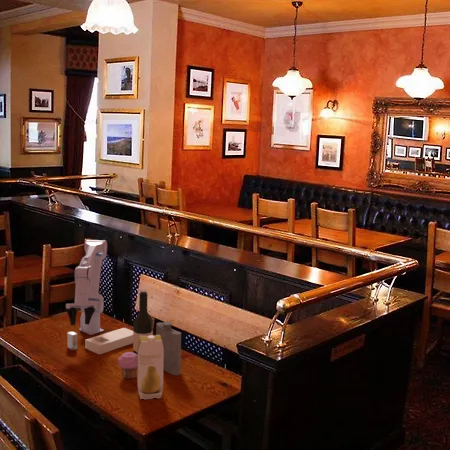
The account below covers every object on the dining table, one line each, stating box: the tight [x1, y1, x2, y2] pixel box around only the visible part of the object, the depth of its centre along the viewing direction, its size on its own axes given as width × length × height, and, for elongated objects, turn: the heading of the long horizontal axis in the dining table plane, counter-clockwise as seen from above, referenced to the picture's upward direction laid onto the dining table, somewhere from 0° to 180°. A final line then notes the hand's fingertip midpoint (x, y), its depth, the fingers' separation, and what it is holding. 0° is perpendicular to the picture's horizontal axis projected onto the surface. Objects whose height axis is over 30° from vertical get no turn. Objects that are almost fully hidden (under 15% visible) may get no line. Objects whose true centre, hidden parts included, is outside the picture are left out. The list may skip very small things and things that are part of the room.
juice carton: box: [136, 334, 164, 400], centre depth 223 cm, size 9×8×24 cm
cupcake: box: [117, 351, 137, 380], centre depth 240 cm, size 9×9×10 cm
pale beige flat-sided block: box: [84, 327, 133, 355], centre depth 272 cm, size 10×22×4 cm, turn 139°
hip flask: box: [155, 321, 182, 376], centre depth 248 cm, size 16×4×20 cm, turn 39°
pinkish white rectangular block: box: [66, 331, 78, 351], centre depth 267 cm, size 4×2×7 cm, turn 49°
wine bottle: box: [132, 290, 154, 354], centre depth 256 cm, size 8×8×30 cm
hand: (80, 324), depth 265 cm, fingers open, 7 cm apart
